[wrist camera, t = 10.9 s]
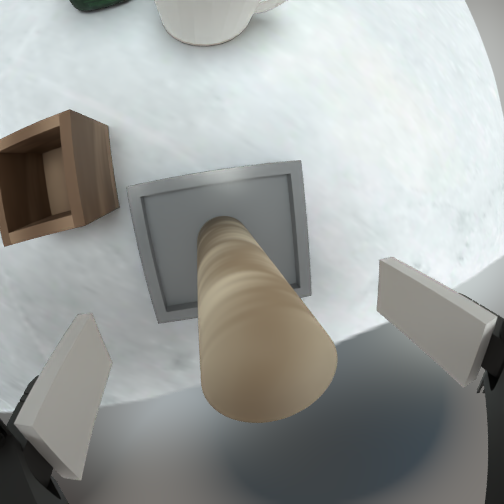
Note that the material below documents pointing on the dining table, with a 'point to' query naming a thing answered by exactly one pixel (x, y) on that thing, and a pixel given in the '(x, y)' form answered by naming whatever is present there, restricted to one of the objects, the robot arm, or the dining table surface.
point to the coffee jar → (93, 4)
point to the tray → (210, 206)
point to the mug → (209, 18)
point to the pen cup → (55, 177)
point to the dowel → (255, 331)
